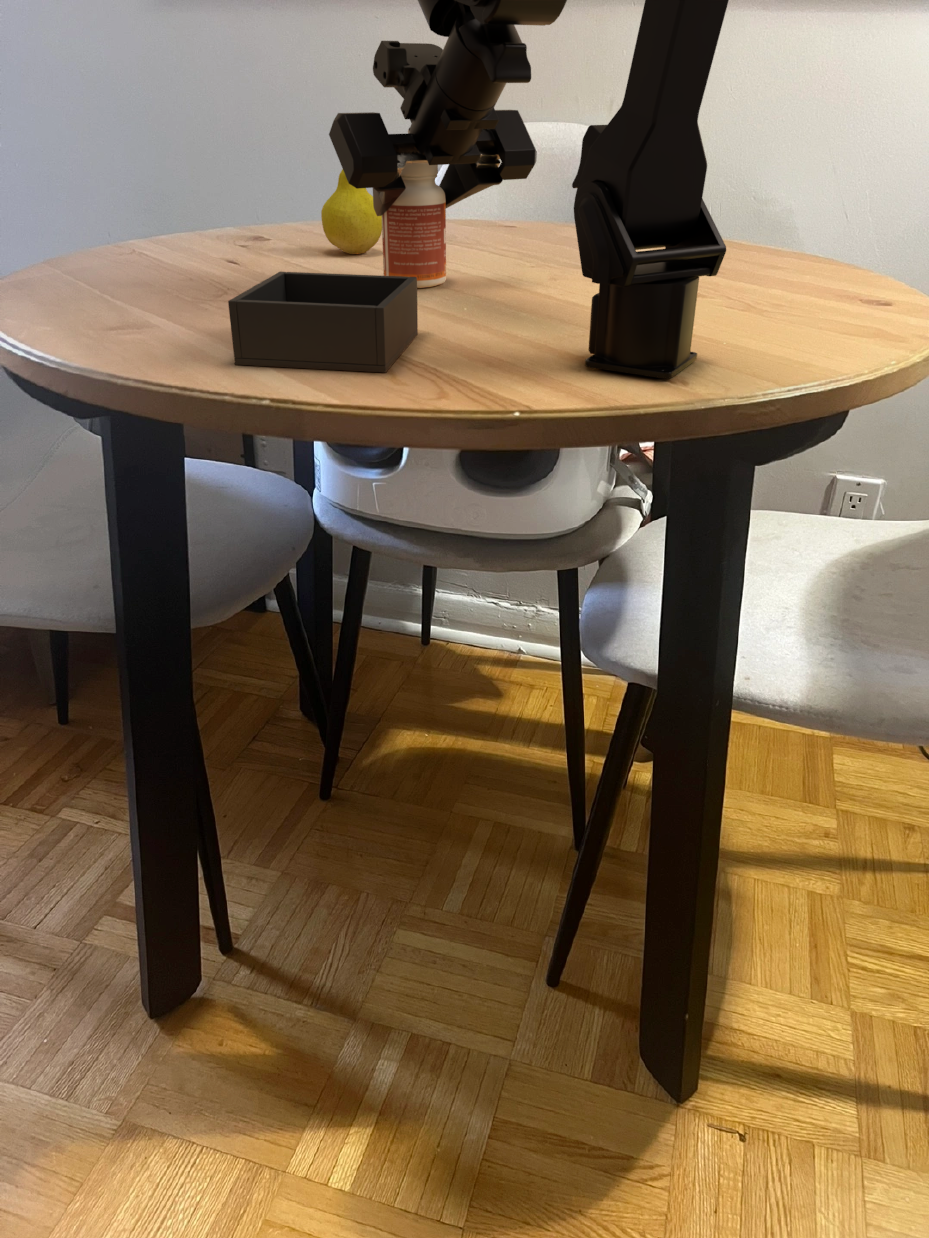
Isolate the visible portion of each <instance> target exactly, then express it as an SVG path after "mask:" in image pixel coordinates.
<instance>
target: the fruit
mask: <svg viewBox="0 0 929 1238" xmlns="http://www.w3.org/2000/svg"><path fill="white" fill-rule="evenodd" d="M320 213H321V217H320V218H321V225H322V229H323V233H324V235H325V237H326V239H327V241H328V242H329V243H330V244H331V245H332V246H334V247H336V248H338V249H339V250H340V251H342V252H344V253H346V254H350V255H355V254H356V255H360V254H366V253H367V252H368V251H370V250H371V249H372V248H374V246H375V245H376V244H377V243H378V242H379V240H380V238H381V236H382V215H381V216H377V215H376V212H375V210H374V206H373V194H371V193H369V192H368V190H367V188H358V189H357V188H355V187H353V186H352V185H350V184H349V183H348V181H347V178H346V176H345V173H344V171H343V168H342V169H341V171H340V172H339V175H338V180H337V186H336V189H335V191H334V192H333V193H332V194H331V195H330V196H329V198H327V200H326V201H325V203H324V204H323V205H322V208H321V211H320Z"/></svg>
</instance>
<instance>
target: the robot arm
mask: <svg viewBox="0 0 929 1238" xmlns="http://www.w3.org/2000/svg"><path fill="white" fill-rule="evenodd" d="M567 1H568V0H417V2H418V4H419V7H420V10H421V12H422V14H423V16H424V18H425V21H426V23H427V25H428V28H429V30H430V32H432V33H434V34H436V35H437V36H440V37H444V38H445V37H446V38H447V40H446V42H445V44H444V47H443V48H442V47H441V46H439V45H436V44H435V43H434V44H433V43H425V42H423V43H422V42H419V43H418V42H417V43H415V42H400V41H399V40H380V43H379V45H378V47H377V50H376V52H375V54H374V57H373V63H372V74H373V76H374V77H375V78H376V80H377V81H378V82H379V83H380V85H381V86H382V87H383V88H394V89H395V91H396V92H397V93H398V94H399V96H401V98H402V99H403V100H402V102H401V105H400V108H399V109H400V111H401V113H402V116H403V118H404V120H409V121H410V126H409V128H408V129H407V133H389V132H388V129H387V127H386V124H385V123H384V119H383V117H382V115H381V113H380V112H374V111H373V112H371V111H370V112H337V114H336V115H335V117H334V119H333V120H332V124H331V127H330V130H329V132H328V136H329V138H330V141H331V144H332V146H333V148H334V151H335V154H336V156H337V158H338V160H339V161H338V162H339V163H340V166H341V168H342V169H343V171H344V173H345V176H346V178H347V181H348V183H349V184H350V185H352V186H353V187H355V188H357V189H358V188H366V189H372V196H373V206H374V210H375V212H376V215H377V216H381V215H383V214H384V213H385V212H386V211H387V210H388V209H389V208H390V206H391V205H392V204H393V203H394V202H395V201H396V199H397V198H398V197H399V196H400V195H401V194H402V192H403V191H404V190H405V189H406V187H405V184H404V182H403V179H402V177H401V175H400V174H401V172H402V170H403V169H404V167H405V165H406V164H410V163H428V164H429V165H438V166H444V165H448V166H447V168H446V170H445V172H444V174H443V176H442V178H441V181H440V183H439V185H438V186H440V187H441V188H442V189H443V191H444V193H445V199H446V209H448V208H450V207H452V206H453V205H455V204H457V203H459V202H461V201H463V200H465V199H467V198H469V197H471V196H474V195H475V194H478V193H479V192H482V191H484V190H487V189H488V188H490V187H494V186H499V185H500V184H502V183H503V181H512V180H513V181H514V180H527V178H528V177H529V175H530V174H531V172H532V170H533V168H534V167H535V165H536V164H537V157H538V156H537V155H538V153H537V152H538V151H537V149H536V146H535V144H534V142H533V140H532V138H531V135H530V133H529V131H528V129H527V127H526V124H525V122H524V120H523V118H522V115H521V113H520V111H519V110H518V109H495V106H496V104H497V103H498V101H499V99H500V97H501V95H502V93H503V92H504V89H505V87H506V85H507V84H528V83H530V82H531V80H532V66H531V63H530V60H529V58H528V54H527V53H528V52H527V51H528V50H527V49H528V47H527V44H526V43H525V42H523V41H522V39H521V36H520V35H519V32H518V30H517V28H516V26H540V27H541V26H543V27H544V26H550V25H552V24H554V23H555V22H556V21H557V19H558V18H559V17H560V16H561V14H562V13H563V10H564V8H565V6H566V4H567ZM729 1H730V0H644V3H643V9H642V13H641V17H640V22H639V26H638V32H637V36H636V41H635V46H634V50H633V55H632V60H631V63H630V69H629V73H628V78H627V82H626V87H625V92H624V96H623V100H622V103H621V106H620V107H619V109H618V111H616V113H614V116H613V117H612V118H611V119H610V121H609V122H608V123H607V124H591V125H589V126H588V127H587V129H586V131H585V133H584V135H583V137H582V141H581V151H580V160H579V165H578V168H577V173H576V175H575V177H574V179H573V182H572V183H571V187H572V189H576V192H575V196H574V203H573V219H574V224H575V232H576V239H577V246H578V253H579V258H580V259H579V260H580V268H581V274H582V276H583V277H584V278H587V279H591V283H593V284H597V285H598V287H599V288H598V293H595V294H594V295H593V296H592V297H591V306H590V307H591V308H590V321H589V335H588V348H587V350H588V352H589V353H590V354H591V355H590V356H588V357H587V358H585V359H584V367H586V368H589V369H591V368H592V369H598V370H603V371H604V370H605V371H610V372H611V371H612V372H618V373H624V374H629V375H630V374H631V375H635V376H636V375H637V376H643V377H650V378H655V379H657V378H658V379H663V380H664V379H665V380H666V379H667V380H669V379H672V378H673V377H675V376H676V375H678V374H679V373H680V372H682V371H683V370H684V369H686V368H687V367H688V366H690V365H691V364H692V363H694V362H695V361H697V359H698V353H697V352H696V351H691V349H692V342H693V333H694V324H695V316H696V307H697V301H698V291H699V282H700V277H716V276H717V275H718V273H719V271H720V268H721V266H722V263H723V260H724V259H725V255H726V253H727V246H726V243H725V241H724V240H723V237H722V235H721V233H720V231H719V229H718V227H717V225H716V223H715V222H714V219H713V217H712V215H711V213H710V211H709V209H708V206H707V205H706V203H705V201H704V198H703V197H704V196H703V194H704V191H705V190H704V189H705V184H706V177H707V171H708V161H707V157H706V153H705V148H704V144H703V140H702V134H701V131H700V126H699V121H698V120H699V115H700V110H701V106H702V103H703V99H704V95H705V91H706V88H707V84H708V80H709V76H710V73H711V69H712V65H713V61H714V57H715V54H716V49H717V46H718V42H719V39H720V35H721V31H722V27H723V23H724V19H725V15H726V12H727V8H728V5H729Z"/></svg>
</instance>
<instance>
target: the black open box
mask: <svg viewBox="0 0 929 1238" xmlns="http://www.w3.org/2000/svg"><path fill="white" fill-rule="evenodd" d="M227 303H228V313H229V321H230V322H229V323H230V332H231V340H232V349H233V350H232V351H233V358H234V365H235V366H254V367H270V368H271V367H274V368H289V369H291V368H292V369H310V370H327V371H329V370H330V371H345V372H346V371H349V372H364V373H381V374H382V373H385V374H386V373H387V372H388V370H389V369H390V368H391V367H393V365H394V363H395V362H396V361H397V360H398V359H399V357H400V356H401V355H402V354H403V353H404V352H405V351H406V349H407V348H408V347H409V346H410V344H412V343H413V341H414V340H415V339H416V338H417V337H418V334H419V328H418V327H419V326H418V323H419V321H418V320H419V319H418V288H417V277H402V276H384V275H376V274H375V275H374V274H352V273H351V274H350V273H349V274H348V273H327V272H326V273H325V272H301V271H298V272H297V271H278V272H277V273H275V274H273V275H270V276H269V277H267V278H266V279H265V280H262V281H261V282H259V283H257V284H256V285H254V286H252V287H250V288H248V289H246V290H245V291H243V292H241V293H239V294H238V295H236V296H234V297H233V298H231V299H229V300H228V301H227Z"/></svg>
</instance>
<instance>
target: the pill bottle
mask: <svg viewBox="0 0 929 1238" xmlns="http://www.w3.org/2000/svg"><path fill="white" fill-rule="evenodd" d="M438 174H439V165H429V164H428V163H410V164H406V165H405V167H404V169H403V170H402V172H401V174H400V175H401V177H402V179H403V182H404V184H405V187H406V189H405V190H404V191H403V192H402V194H401V195H400V196H399V197H398V198H397V199H396V201H395V202H394V203H393V204H392V205H391V206H390V208H389V209H388V210H387V211H386V212H385V213H384V214H383V215H382V232H381V236H382V238H381V240H382V260H383V261H382V263H383V267H382V268H383V276H402V277H417V289H422V288H432V287H437V286H440V285H443V284H444V283H445V282H446V279H447V219H446V218H447V215H446V212H447V211H446V209H447V208H446V199H445V193H444V191H443V189H442V188H441V187H440V186H439V185H438V184H437V183H436V178H438Z"/></svg>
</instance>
